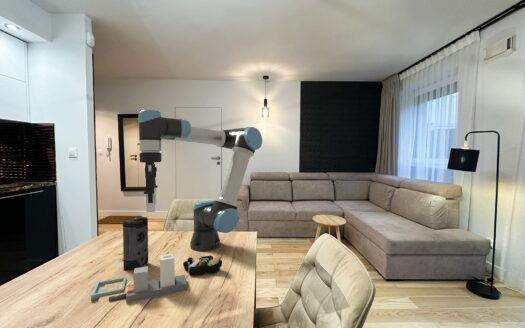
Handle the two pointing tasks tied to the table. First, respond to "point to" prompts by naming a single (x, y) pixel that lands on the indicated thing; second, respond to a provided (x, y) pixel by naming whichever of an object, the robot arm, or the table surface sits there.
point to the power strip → (149, 287)
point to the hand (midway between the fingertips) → (151, 207)
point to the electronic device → (135, 243)
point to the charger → (167, 270)
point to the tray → (99, 288)
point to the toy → (202, 265)
